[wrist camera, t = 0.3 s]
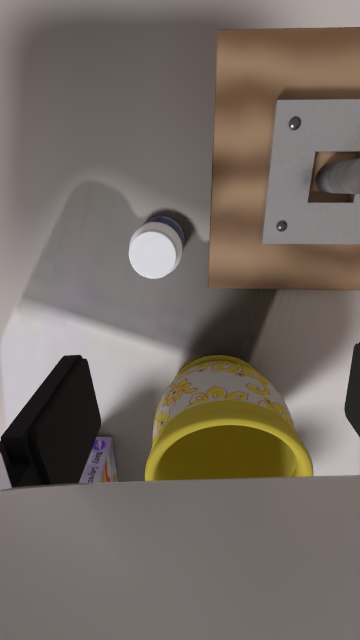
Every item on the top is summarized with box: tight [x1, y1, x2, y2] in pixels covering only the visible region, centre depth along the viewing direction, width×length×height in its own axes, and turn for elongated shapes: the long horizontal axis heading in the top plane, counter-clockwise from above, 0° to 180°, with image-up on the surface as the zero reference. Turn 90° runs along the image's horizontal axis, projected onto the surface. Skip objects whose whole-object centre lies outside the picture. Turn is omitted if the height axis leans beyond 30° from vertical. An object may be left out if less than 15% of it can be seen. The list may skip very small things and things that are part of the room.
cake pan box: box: [79, 436, 118, 483], centre depth 48 cm, size 19×5×18 cm, turn 0°
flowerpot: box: [145, 355, 313, 481], centre depth 40 cm, size 18×18×16 cm
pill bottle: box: [129, 216, 185, 279], centre depth 34 cm, size 6×6×10 cm
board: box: [208, 27, 360, 290], centre depth 31 cm, size 26×26×9 cm
